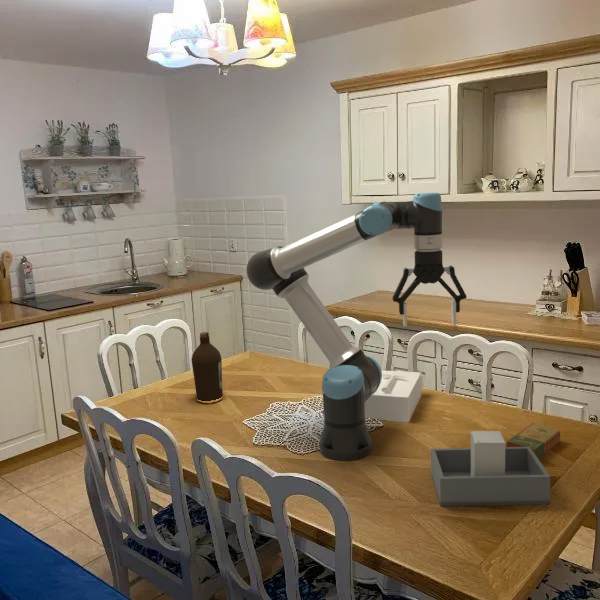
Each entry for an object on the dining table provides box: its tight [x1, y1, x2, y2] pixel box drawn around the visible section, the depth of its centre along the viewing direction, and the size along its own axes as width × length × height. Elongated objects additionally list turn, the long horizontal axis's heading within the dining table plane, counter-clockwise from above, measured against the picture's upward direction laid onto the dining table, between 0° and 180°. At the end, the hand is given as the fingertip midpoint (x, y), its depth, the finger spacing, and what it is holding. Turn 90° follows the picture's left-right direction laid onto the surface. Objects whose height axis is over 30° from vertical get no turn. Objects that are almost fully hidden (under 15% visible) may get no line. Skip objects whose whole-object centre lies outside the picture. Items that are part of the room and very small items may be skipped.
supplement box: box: [470, 430, 506, 476], centre depth 150 cm, size 7×7×13 cm
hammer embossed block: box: [364, 369, 423, 423], centre depth 207 cm, size 14×25×11 cm, turn 160°
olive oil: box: [191, 331, 224, 401], centre depth 222 cm, size 11×11×25 cm
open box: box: [430, 446, 551, 507], centre depth 151 cm, size 25×16×7 cm, turn 86°
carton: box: [506, 422, 561, 460], centre depth 172 cm, size 8×16×4 cm, turn 134°
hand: (429, 324), depth 174 cm, fingers open, 13 cm apart
